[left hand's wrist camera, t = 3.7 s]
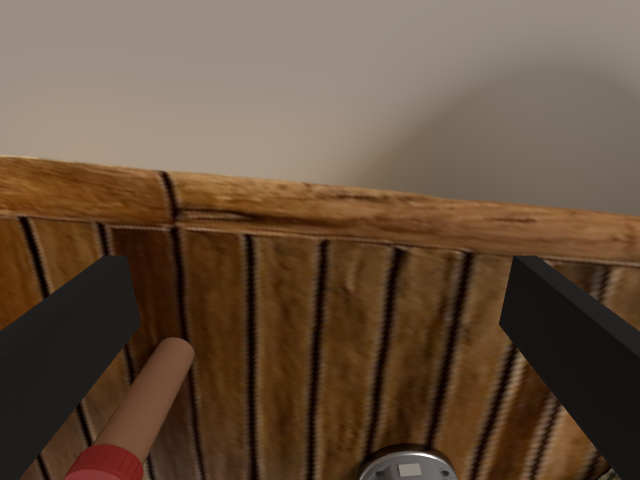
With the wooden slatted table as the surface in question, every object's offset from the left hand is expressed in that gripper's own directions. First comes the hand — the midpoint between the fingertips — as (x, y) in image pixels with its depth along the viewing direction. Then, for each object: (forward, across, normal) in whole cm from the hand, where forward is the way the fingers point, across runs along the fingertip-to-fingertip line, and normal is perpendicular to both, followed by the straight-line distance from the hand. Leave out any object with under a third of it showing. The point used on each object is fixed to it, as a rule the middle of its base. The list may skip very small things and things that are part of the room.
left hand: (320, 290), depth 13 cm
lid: (+10, +19, +25) cm, 33 cm away
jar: (+28, +19, +25) cm, 42 cm away
